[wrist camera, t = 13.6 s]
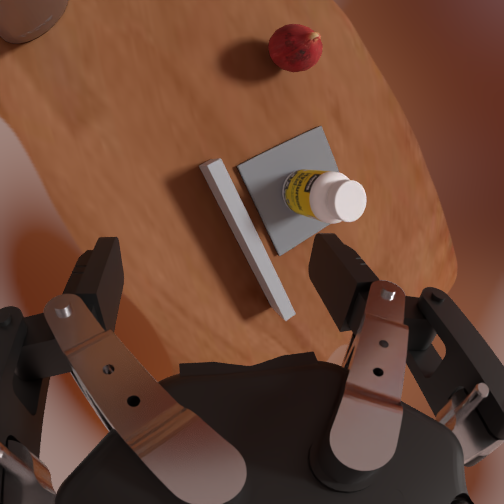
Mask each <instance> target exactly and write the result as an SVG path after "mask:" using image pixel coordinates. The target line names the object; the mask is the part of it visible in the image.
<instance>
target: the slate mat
mask: <svg viewBox="0 0 504 504" xmlns="http://www.w3.org/2000/svg"><path fill="white" fill-rule="evenodd" d="M237 168H238V170H239V172H240V174H241V177H242V179H243V181H244V183H245V185H246V187H247V189H248V191H249V193H250V195H251V198H252V200H253V202H254V204H255V206H256V208H257V210H258V212H259V215H260V217H261V219H262V221H263V223H264V225H265V227H266V230H267V232H268V234H269V236H270V238H271V240H272V242H273V245H274V247H275V249H276V251H277V253H278V255H279V256H281V255H282V254H284V253H285V252H287V251H289V250H290V249H292V248H293V247H295V246H296V245H298V244H300V243H301V242H303V241H304V240H306V239H307V238H309V237H311V236H312V235H314V234H315V233H317V232H318V231H320V230H321V229H323V228H325V227H326V226H328V225H329V224H330V223H325V222H321V221H319V220H316V219H313V218H310V217H306V216H303V215H300V214H297V213H295V212H293V211H291V210H290V209H289V208H288V207H287V206H286V204H285V202H284V200H283V195H282V190H283V185H284V182H285V180H286V178H287V177H288V176H289V175H290V174H291V173H293V172H294V171H297V170H302V169H307V170H321V171H333V172H339V170H338V168H337V165H336V162H335V160H334V157H333V154H332V152H331V149H330V146H329V144H328V141H327V139H326V136H325V134H324V131H323V129H322V126H318V127H316V128H314V129H312V130H310V131H307V132H305V133H303V134H301V135H299V136H297V137H294V138H292V139H290V140H288V141H286V142H284V143H282V144H280V145H278V146H276V147H273V148H271V149H269V150H267V151H265V152H263V153H261V154H259V155H257V156H255V157H253V158H251V159H249V160H247V161H245V162H243V163H242V164H240V165H238V166H237Z"/></svg>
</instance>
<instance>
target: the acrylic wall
mask: <svg viewBox="0 0 504 504" xmlns="http://www.w3.org/2000/svg"><path fill="white" fill-rule="evenodd" d="M199 167H200V169H201V171H202V173H203V175H204V177H205V179H206V181H207V183H208V185H209V187H210V189H211V191H212V193H213V195H214V197H215V199H216V201H217V203H218V205H219V206H220V208H221V210H222V212H223V214H224V216H225V218H226V220H227V222H228V224H229V226H230V228H231V230H232V232H233V234H234V236H235V238H236V240H237V242H238V243H239V245H240V247H241V249H242V251H243V253H244V255H245V257H246V259H247V261H248V263H249V265H250V267H251V269H252V271H253V273H254V274H255V276H256V278H257V280H258V282H259V284H260V286H261V288H262V290H263V292H264V294H265V296H266V298H267V299H268V301H269V303H270V305H271V307H272V308H273V309H274V310H275V311H276V312H277V313H278V314H279V315H280V316H281V317H282V318H283V319H284V320H285V321H286V320H288V319H289V318H291V317H292V316H294V315H295V312H294V309H293V307H292V305H291V303H290V301H289V299H288V297H287V295H286V293H285V290H284V288H283V286H282V284H281V282H280V280H279V278H278V276H277V274H276V271H275V269H274V267H273V265H272V263H271V261H270V259H269V257H268V255H267V253H266V251H265V248H264V246H263V244H262V242H261V240H260V238H259V236H258V234H257V232H256V230H255V228H254V226H253V223H252V221H251V219H250V217H249V215H248V213H247V211H246V209H245V207H244V205H243V203H242V201H241V199H240V197H239V195H238V193H237V190H236V188H235V186H234V184H233V182H232V180H231V178H230V176H229V174H228V172H227V170H226V168H225V166H224V164H223V162H222V160H221V158H219V159H210V160H209V161H207V162H205V163H203V164H201V165H199Z"/></svg>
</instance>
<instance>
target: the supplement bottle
mask: <svg viewBox="0 0 504 504" xmlns="http://www.w3.org/2000/svg"><path fill="white" fill-rule="evenodd" d="M282 195H283V200H284V202H285V204H286V206H287V207H288V208H289V209H290V210H291V211H293V212H295V213H297V214H300V215H303V216H306V217H310V218H313V219H316V220H319V221H321V222H325V223H330V224H334V223H339V222H341V221H345V222H352V221H355V220H357V219H358V218H359V217H360V216H361V215H362V214H363V212H364V210H365V207H366V193H365V190H364V188H363V187H362V186H361V184H359V183H358V182H356V181H353V180H349V179H348V178H347V177H346V176H345V175H343V174H341V173H339V172H333V171H321V170H307V169H302V170H297V171H294V172H293V173H291V174H290V175H289V176H288V177H287V178H286V180H285V182H284V185H283V190H282Z"/></svg>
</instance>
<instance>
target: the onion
mask: <svg viewBox="0 0 504 504" xmlns="http://www.w3.org/2000/svg"><path fill="white" fill-rule="evenodd" d="M320 38H321V37H320V34H319V33H316V32H314V31H313V30H312V29H310V28H309V27H306V26H303V25H300V24H289V25H285V26H283V27H281V28H279V29H277V30H276V31H275V33H274V34H273V35H272V37H271V38H270V40H269V45H268V49H269V54H270V57H271V59H272V60H273V62H274V63H275V64H276V65H277V66H279V67H280V68H281V69H283V70H287V71H290V72H299V71H305V70H307V69H309V68H311V67H312V66H314V65H315V64H316V63H317V62H318V60H319V58H320V56H321V54H322V42H321V40H320Z"/></svg>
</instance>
